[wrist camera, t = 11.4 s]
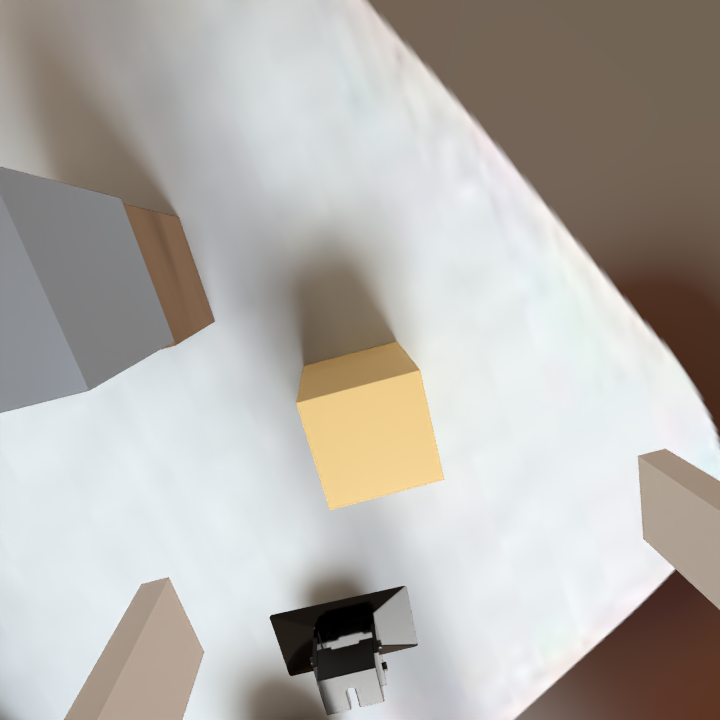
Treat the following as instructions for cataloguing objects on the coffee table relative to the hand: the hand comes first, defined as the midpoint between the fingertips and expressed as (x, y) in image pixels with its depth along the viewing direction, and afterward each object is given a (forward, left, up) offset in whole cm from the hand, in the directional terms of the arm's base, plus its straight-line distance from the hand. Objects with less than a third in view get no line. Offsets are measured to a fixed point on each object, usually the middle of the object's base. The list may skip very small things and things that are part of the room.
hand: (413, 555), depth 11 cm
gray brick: (-10, +9, -7) cm, 15 cm away
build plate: (-6, -17, -14) cm, 22 cm away
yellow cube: (0, 0, -13) cm, 13 cm away
